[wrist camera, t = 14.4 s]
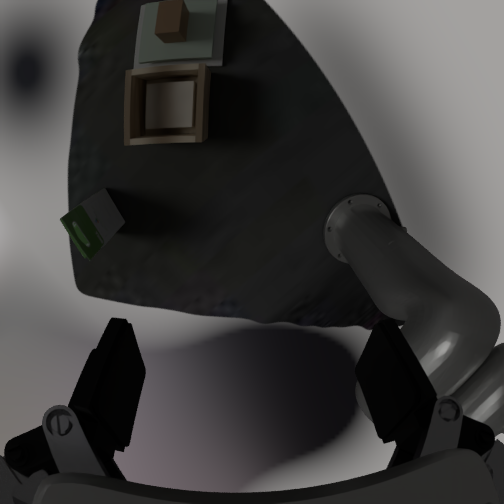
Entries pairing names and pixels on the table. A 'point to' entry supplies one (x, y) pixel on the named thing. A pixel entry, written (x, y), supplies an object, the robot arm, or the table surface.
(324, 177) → the table surface
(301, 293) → the table surface
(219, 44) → the felt mat
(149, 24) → the lid
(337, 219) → the robot arm
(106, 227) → the ink box
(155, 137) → the keepsake box
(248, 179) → the table surface
